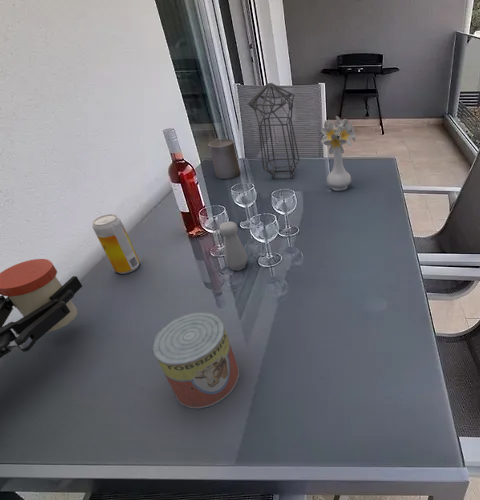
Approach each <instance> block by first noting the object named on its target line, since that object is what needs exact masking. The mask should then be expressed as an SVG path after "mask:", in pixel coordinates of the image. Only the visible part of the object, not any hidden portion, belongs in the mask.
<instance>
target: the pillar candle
mask: <svg viewBox="0 0 480 500" xmlns="http://www.w3.org/2000/svg"><path fill="white" fill-rule="evenodd" d="M207 146H208V149H209V153H210V156H211V160H212V161H211V162H212V164H213V168H214V172H215V177H216V178H217V179H219V180H231V179H235V178H237V177H239V176H240V174H241V170H240V167H239V166H240V165H239V160H238V157H237V151H236V147H235V142H234V140H233V139H230V138H219V139H215V140H212V141H210V142H208V144H207Z"/></svg>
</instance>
